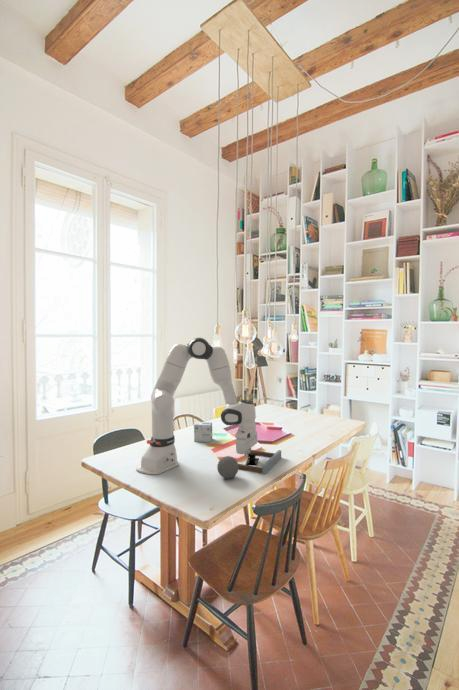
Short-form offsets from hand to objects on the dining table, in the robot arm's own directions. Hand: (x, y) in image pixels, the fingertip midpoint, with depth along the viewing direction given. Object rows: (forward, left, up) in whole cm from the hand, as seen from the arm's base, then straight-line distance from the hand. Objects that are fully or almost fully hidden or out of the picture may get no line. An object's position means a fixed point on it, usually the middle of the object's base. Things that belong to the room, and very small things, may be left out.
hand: (247, 456), depth 194 cm
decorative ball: (-23, 0, -2) cm, 23 cm away
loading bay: (0, -1, -2) cm, 2 cm away
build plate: (0, -3, -3) cm, 4 cm away
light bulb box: (+20, +39, -2) cm, 44 cm away
